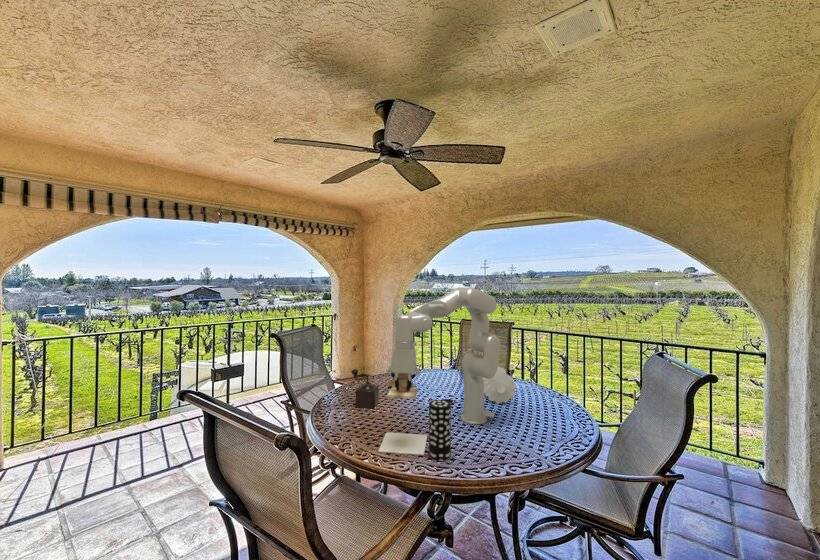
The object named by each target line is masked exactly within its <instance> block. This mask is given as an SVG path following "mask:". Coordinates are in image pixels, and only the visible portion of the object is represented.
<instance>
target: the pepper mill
mask: <svg viewBox="0 0 820 560" xmlns="http://www.w3.org/2000/svg"><path fill="white" fill-rule="evenodd" d="M358 373H359V370H358V368H353V369H352V370H351V375H352V377H353V378H354V380H355V381H365V380H366V383H365V384H363V383H362V384H360V385H359V386H358V387H357V389H356V390H355V409H361V408H366V409H365V410H374V409H376V408H377V406H378V405H377V404H379V401H380V399H379V395H380V394H379V393H380V392H379V391H380V390H379V386H380V385H378V384H377V385H375V384H373V383H371V382H370V381H369V378H370V377H369V374H366V375H365V376H366V377H362V378H358V377H359V375H358ZM375 407H376V408H375Z"/></svg>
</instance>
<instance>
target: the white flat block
mask: <svg viewBox="0 0 820 560" xmlns="http://www.w3.org/2000/svg"><path fill="white" fill-rule="evenodd" d="M427 438H428V434H418V433H404V432H403V433H400V432H386V433H385V434H384V437H383V439H382V441H381V444H380V445H379V448H378V450H377V451H378V453H387V454H401V455H411V456H413V455H416V456H425V452H426V445H427Z"/></svg>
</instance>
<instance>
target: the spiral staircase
mask: <svg viewBox="0 0 820 560" xmlns="http://www.w3.org/2000/svg"><path fill="white" fill-rule="evenodd" d="M483 380H484V395H485V396H487V398H488V401H492V402H495V403H496V404H497V405H498V404H502V403H504V404H506V403H508V401H510V400H511V399H512V400H513V399H514V397H515V396H516V388H517V385H516V383H515V382H514V378H513V377H512V376H511V375H509V374H508V373H507V370H506V369H505V368H503V367H501V366H500V365H498V368H497V372H496V374H495V376H494V377H492V378H484V377H483Z"/></svg>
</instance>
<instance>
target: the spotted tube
mask: <svg viewBox="0 0 820 560" xmlns="http://www.w3.org/2000/svg"><path fill="white" fill-rule="evenodd" d="M451 405H452V404H451V402H450V401H448V400H445V399H433V400H430V401H429V402H428V456H429V458H430V459H432V460H434V461H436V460H437V461H438V462H443V461H447V460H449V459H450V458H451V451H452V448H451V443H452V442H451V441H452V439H451V435H452V433H451V422H452V421H451V420H452V419H451V418H452V417H451V415H452V414H451V413H452V412H451V410H452V406H451Z"/></svg>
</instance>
